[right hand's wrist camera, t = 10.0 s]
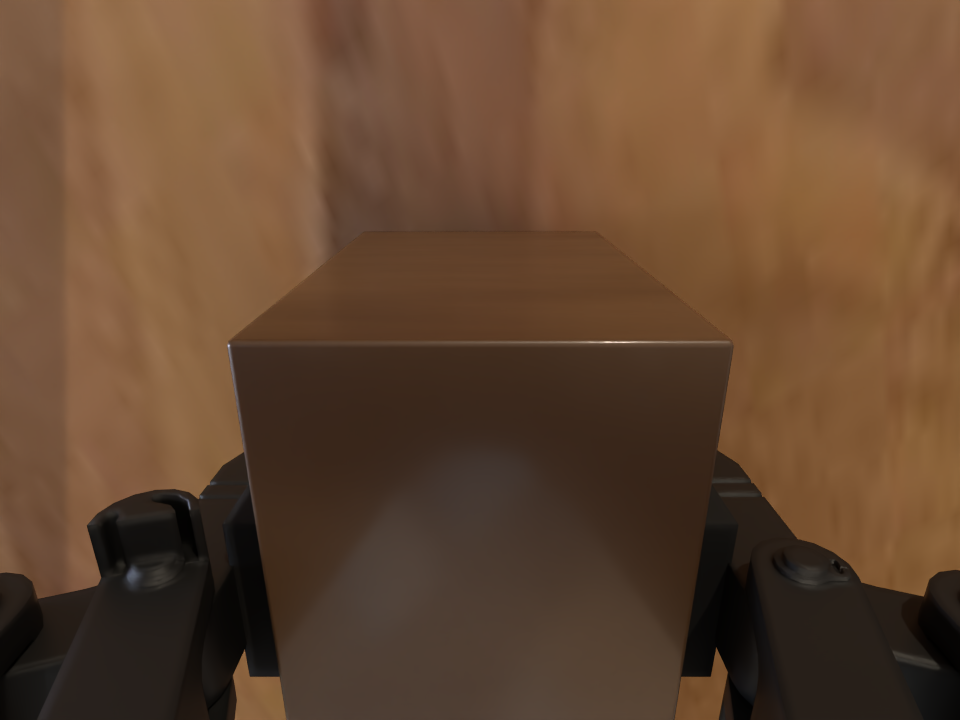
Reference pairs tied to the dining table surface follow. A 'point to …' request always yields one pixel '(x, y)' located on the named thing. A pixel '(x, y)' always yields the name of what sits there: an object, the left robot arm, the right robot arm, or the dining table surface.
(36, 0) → the dining table surface
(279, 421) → the beam
